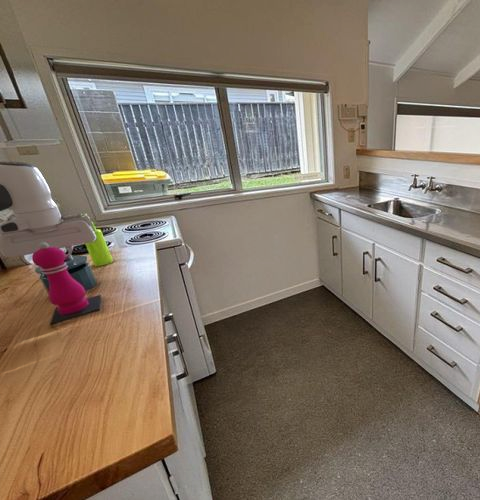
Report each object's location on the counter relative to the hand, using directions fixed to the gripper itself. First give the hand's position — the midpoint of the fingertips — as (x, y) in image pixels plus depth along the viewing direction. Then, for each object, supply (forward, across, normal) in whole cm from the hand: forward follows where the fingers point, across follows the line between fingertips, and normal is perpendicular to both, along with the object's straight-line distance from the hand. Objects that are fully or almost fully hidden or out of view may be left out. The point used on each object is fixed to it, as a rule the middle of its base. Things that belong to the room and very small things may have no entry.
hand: (61, 262), depth 88 cm
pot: (+10, 0, 0) cm, 10 cm away
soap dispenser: (+10, -7, -22) cm, 25 cm away
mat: (+10, -2, +17) cm, 20 cm away
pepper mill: (+9, -1, +17) cm, 19 cm away
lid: (+1, 0, 0) cm, 1 cm away
